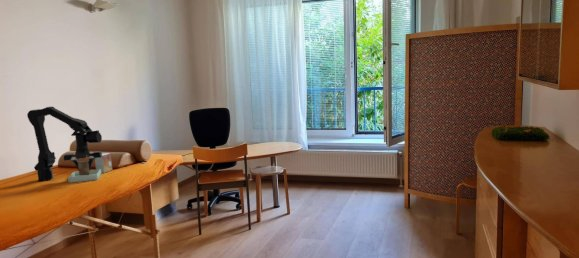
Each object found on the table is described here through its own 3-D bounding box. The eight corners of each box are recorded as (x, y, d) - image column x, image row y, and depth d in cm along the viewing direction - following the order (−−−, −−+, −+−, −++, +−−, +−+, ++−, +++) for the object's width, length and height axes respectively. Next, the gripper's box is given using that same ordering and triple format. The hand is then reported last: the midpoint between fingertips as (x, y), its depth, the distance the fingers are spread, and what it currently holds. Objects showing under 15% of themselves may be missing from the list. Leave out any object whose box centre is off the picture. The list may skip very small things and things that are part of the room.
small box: (104, 173, 251) (102, 155, 250) (96, 173, 252) (94, 155, 251) (112, 170, 259) (111, 153, 258) (104, 170, 260) (102, 153, 259)
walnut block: (79, 175, 236) (78, 163, 235) (81, 173, 241) (79, 161, 240) (89, 174, 237) (87, 162, 237) (90, 172, 242) (89, 160, 241)
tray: (68, 182, 231) (68, 177, 230) (74, 176, 244) (73, 171, 244) (97, 179, 235) (97, 174, 234) (101, 174, 248) (100, 169, 248)
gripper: (59, 147, 227) (63, 175, 229) (97, 143, 232) (100, 172, 234) (64, 144, 237) (67, 171, 239) (100, 141, 242) (103, 168, 244)
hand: (84, 170), depth 239 cm, fingers closed on walnut block, 5 cm apart
